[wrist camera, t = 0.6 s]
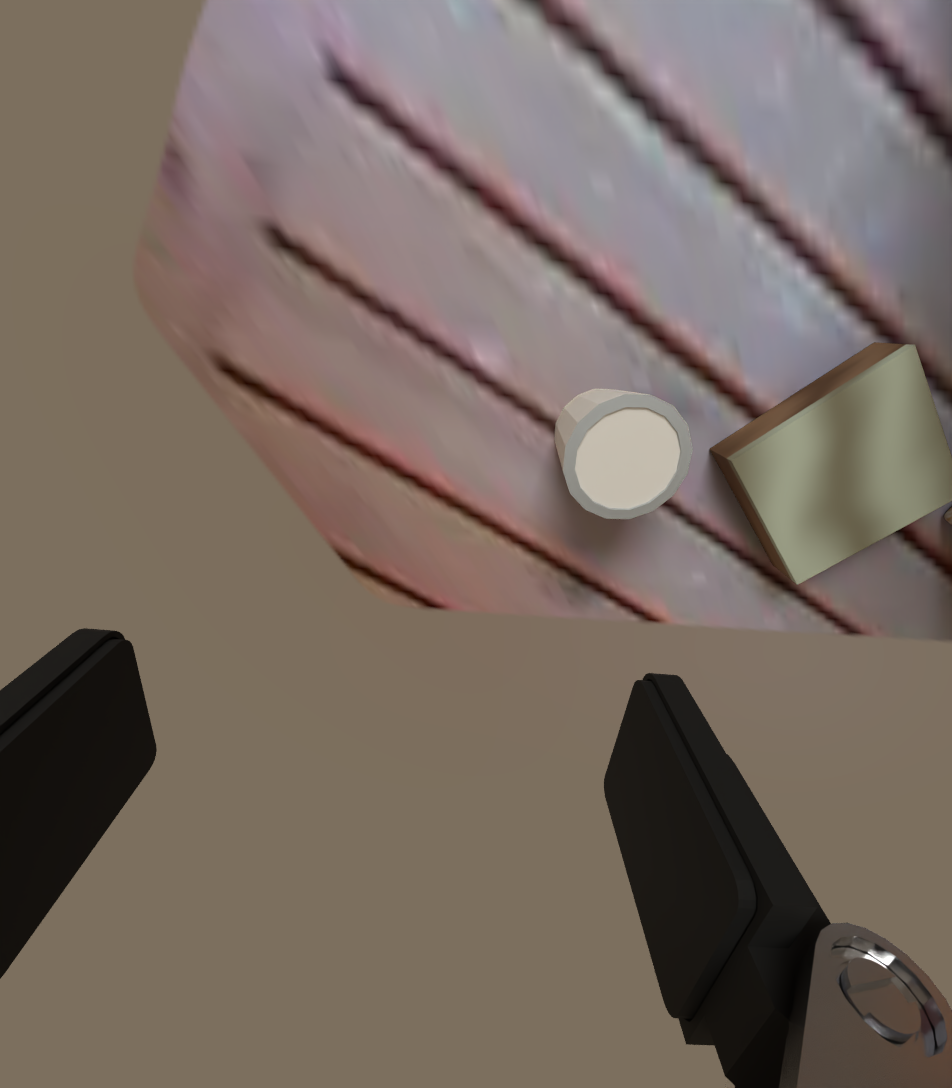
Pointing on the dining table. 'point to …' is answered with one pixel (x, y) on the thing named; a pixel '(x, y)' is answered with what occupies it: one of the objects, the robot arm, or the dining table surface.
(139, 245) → the dining table surface
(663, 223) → the dining table surface
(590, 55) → the dining table surface
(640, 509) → the beige cylinder
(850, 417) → the plinth
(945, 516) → the decorative jar
